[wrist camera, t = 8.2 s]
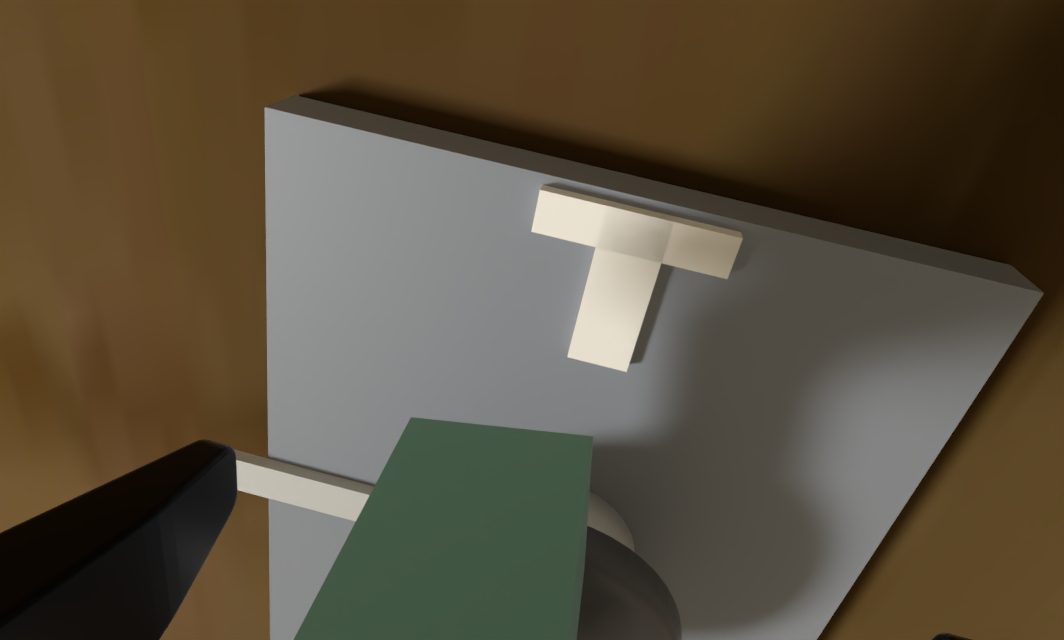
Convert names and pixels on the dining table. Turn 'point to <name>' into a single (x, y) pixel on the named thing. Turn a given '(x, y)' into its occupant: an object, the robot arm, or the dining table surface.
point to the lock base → (608, 357)
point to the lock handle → (487, 548)
